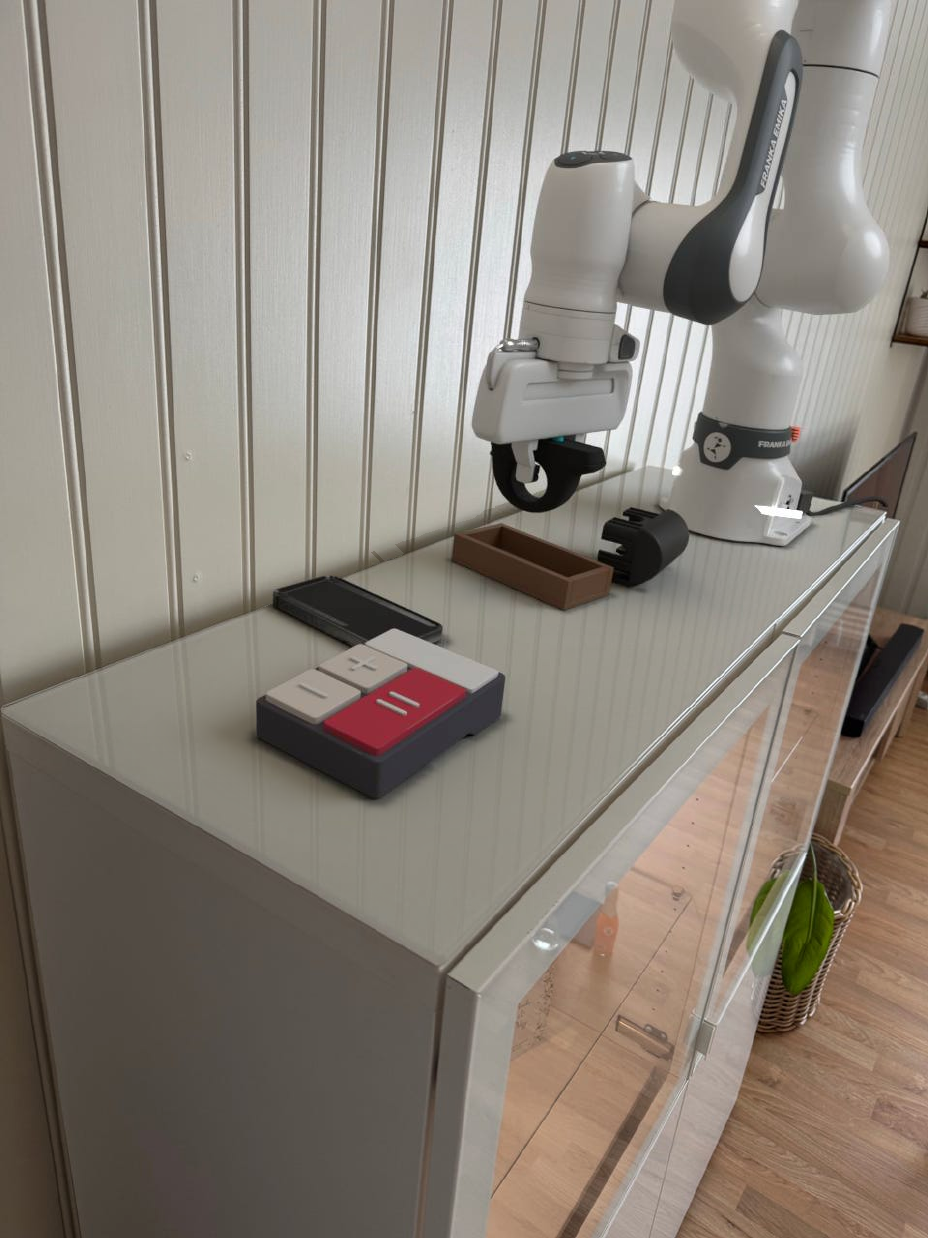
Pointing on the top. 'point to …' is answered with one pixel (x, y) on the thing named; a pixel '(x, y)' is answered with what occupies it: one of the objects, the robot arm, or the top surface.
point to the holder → (532, 565)
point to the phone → (351, 611)
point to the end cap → (643, 544)
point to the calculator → (380, 710)
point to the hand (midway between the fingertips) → (542, 478)
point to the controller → (546, 471)
